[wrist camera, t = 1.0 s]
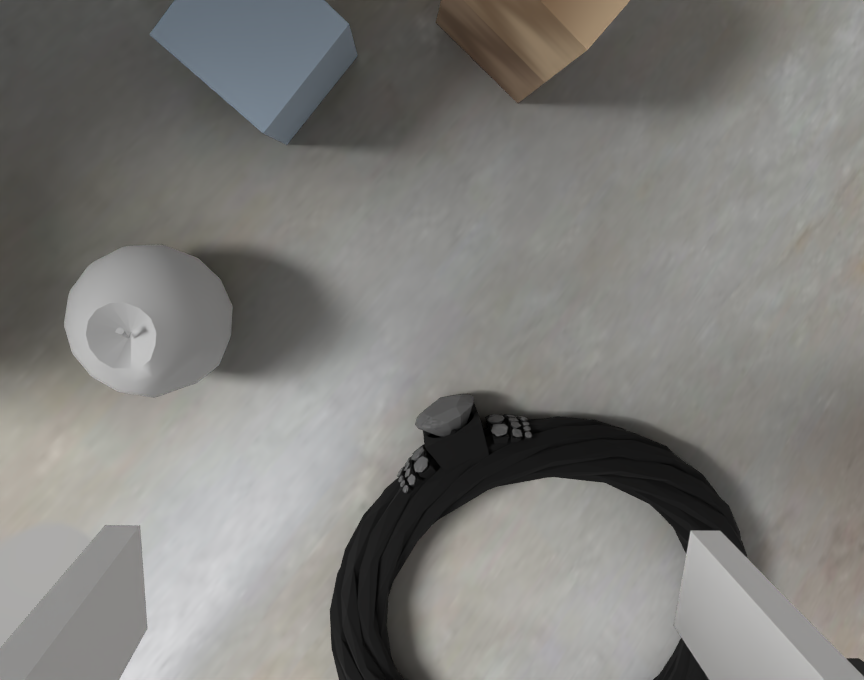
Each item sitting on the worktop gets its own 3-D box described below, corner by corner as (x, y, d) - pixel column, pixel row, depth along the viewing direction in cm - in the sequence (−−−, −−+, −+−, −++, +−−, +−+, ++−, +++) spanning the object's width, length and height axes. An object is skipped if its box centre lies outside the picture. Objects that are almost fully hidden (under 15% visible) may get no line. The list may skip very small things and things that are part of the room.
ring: (438, 869, 40) (221, 517, 33) (434, 812, 44) (238, 484, 37) (816, 714, 39) (676, 313, 32) (779, 669, 43) (647, 301, 36)
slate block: (195, 65, 31) (149, 34, 25) (266, -30, 30) (235, -84, 24) (287, 144, 32) (262, 133, 26) (357, 56, 31) (349, 24, 25)
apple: (100, 242, 33) (8, 256, 25) (242, 238, 33) (194, 250, 25) (121, 374, 34) (41, 426, 27) (255, 369, 35) (215, 418, 27)
